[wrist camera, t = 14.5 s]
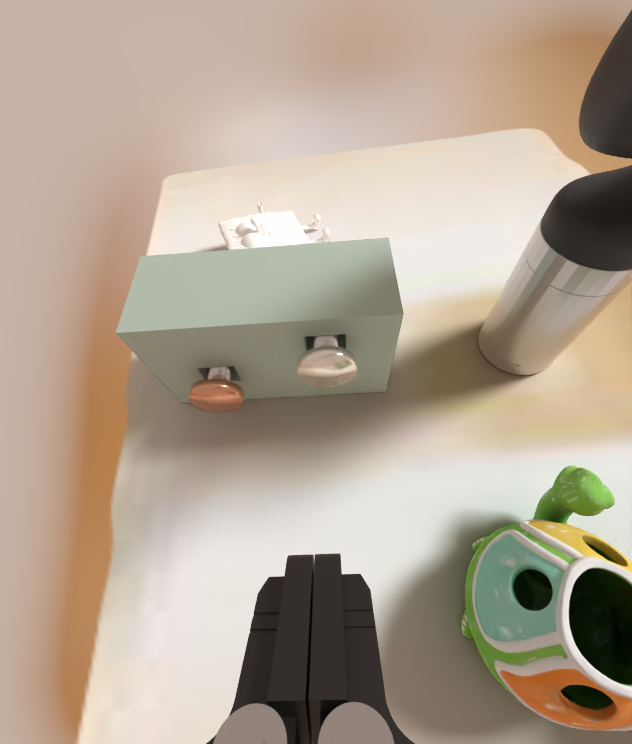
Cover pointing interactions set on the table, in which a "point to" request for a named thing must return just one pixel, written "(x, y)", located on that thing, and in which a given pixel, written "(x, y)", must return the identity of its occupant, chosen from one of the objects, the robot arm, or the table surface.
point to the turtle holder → (556, 610)
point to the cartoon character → (268, 230)
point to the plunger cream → (326, 363)
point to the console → (264, 315)
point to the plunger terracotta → (217, 392)
